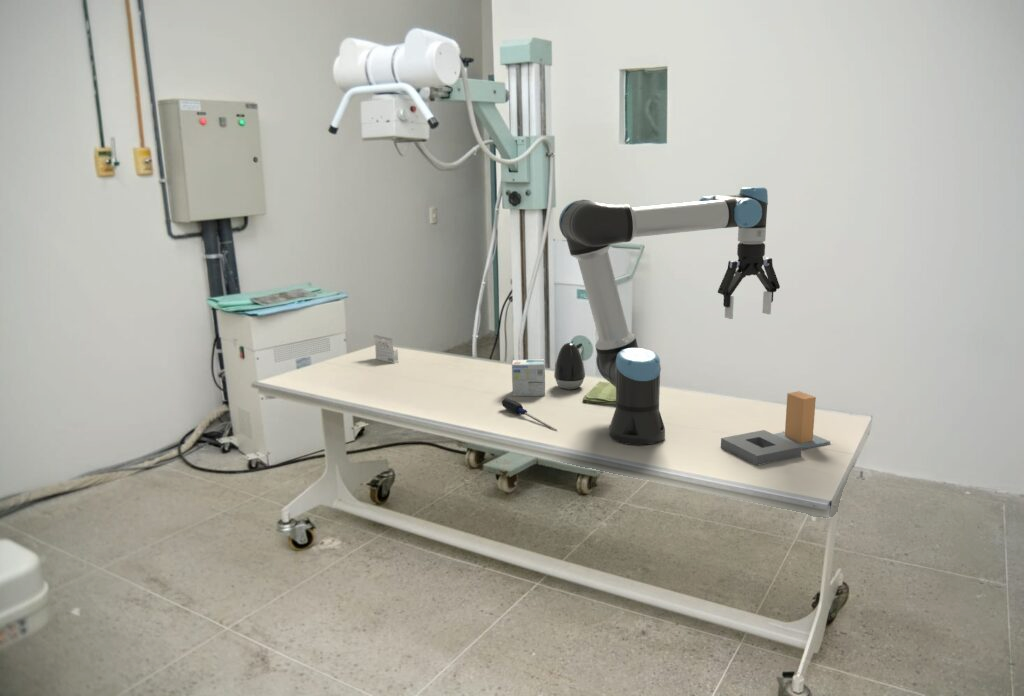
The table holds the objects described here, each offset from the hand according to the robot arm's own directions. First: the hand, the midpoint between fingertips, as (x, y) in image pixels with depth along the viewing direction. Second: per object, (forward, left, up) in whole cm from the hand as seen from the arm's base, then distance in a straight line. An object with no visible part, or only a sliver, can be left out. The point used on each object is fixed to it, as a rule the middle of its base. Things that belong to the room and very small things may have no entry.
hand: (747, 315), depth 229 cm
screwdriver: (-61, +21, -29) cm, 70 cm away
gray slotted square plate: (-18, -29, -29) cm, 45 cm away
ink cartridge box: (-81, +109, -29) cm, 139 cm away
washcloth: (-29, +30, -29) cm, 51 cm away
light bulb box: (-50, +45, -29) cm, 73 cm away
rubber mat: (-4, -27, -29) cm, 40 cm away
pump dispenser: (-35, +45, -29) cm, 64 cm away
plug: (-4, -27, -28) cm, 39 cm away
